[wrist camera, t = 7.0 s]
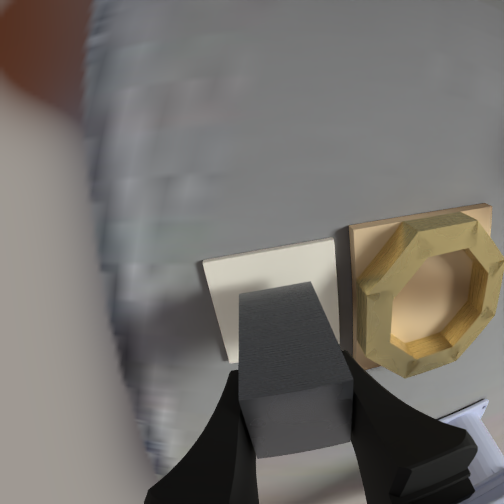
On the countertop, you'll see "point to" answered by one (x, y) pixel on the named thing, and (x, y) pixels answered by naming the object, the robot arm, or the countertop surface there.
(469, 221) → the collar
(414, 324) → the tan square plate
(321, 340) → the steel block
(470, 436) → the robot arm
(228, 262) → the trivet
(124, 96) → the countertop surface
